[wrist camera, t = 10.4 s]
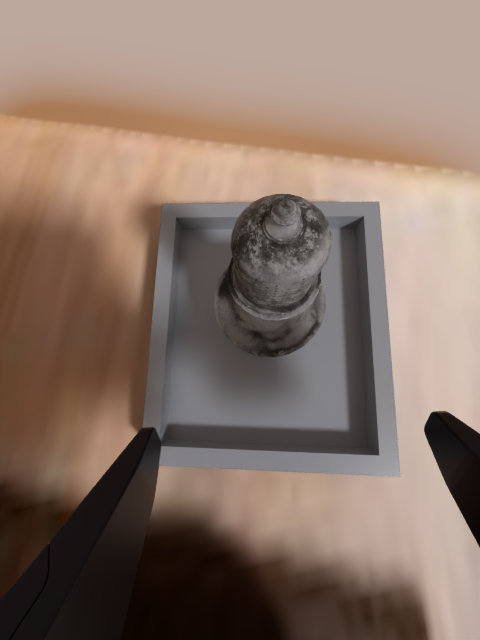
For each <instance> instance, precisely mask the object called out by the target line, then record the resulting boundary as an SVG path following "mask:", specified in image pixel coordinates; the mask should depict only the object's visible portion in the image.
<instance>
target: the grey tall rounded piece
mask: <svg viewBox="0 0 480 640" xmlns="http://www.w3.org/2000/svg"><path fill="white" fill-rule="evenodd" d="M330 250H331V229H330V226H329V223H328V220H327V219H326V217H325V216H324V214H323V213H322V211H321V210H320V209H319V208H317V207H316V206H315V205H314V204H313V203H311V202H309V201H307V200H305V199H304V198H302V197H299V196H295V195H290V194H275V195H271V196H266V197H263V198H261V199H259V200H257V201H255V202H253V203H251V204H250V205H249V206H248V207H247V208H245V209H244V210H243V212H242V213H241V214H240V216H239V217H238V219H237V220H236V223H235V226H234V229H233V231H232V235H231V251H232V256H233V257H232V258H231V261H230V264H229V266H228V267H227V268H226V269H225V271H224V272H223V274H222V275H221V277H220V278H219V280H218V283H217V286H216V289H215V292H214V305H213V307H214V311H215V316H216V321H217V322H218V324H219V326H220V328H221V330H222V332H223V334H224V335H225V336H226V337H227V338H228V339H229V340H230V341H231V343H232V344H234V345H235V346H237V347H238V348H240V349H241V350H243V351H245V352H247V353H250V354H253V355H256V356H260V357H278V356H283V355H287V354H290V353H292V352H294V351H296V350H298V349H300V348H302V347H303V346H305V345H306V344H307V343H308V342H309V341H310V340H311V339H312V338H313V337H314V336H315V334H316V332H317V331H318V329H319V327H320V326H321V324H322V321H323V317H324V313H325V293H324V289H323V286H322V283H321V270H322V268H323V267H324V265H325V263H326V262H327V260H328V257H329V253H330Z"/></svg>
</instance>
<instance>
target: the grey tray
mask: <svg viewBox="0 0 480 640" xmlns="http://www.w3.org/2000/svg"><path fill="white" fill-rule="evenodd" d="M311 203H313V204H314V205H315V206H316V207H317V208H319V209H320V210H321V211H322V213H323V214H324V216H325V217H326V219H327V220H328V223H329V226H330V229H331V250H330V253H329V257H328V260H327V262H326V263H325V265H324V267H323V268H322V270H321V283H322V286H323V289H324V293H325V313H324V317H323V321H322V324H321V326H320V327H319V329H318V331H317V332H316V334H315V336H314V337H313V338H312V339H311V340H310V341H309V342H308V343H307V344H306V345H305V346H303V347H302V348H300V349H298V350H296V351H294V352H292V353H290V354H287V355H283V356H278V357H260V356H256V355H253V354H250V353H247V352H245V351H243V350H241V349H240V348H238V347H237V346H235V345H234V344H232V343H231V341H230V340H229V339H228V338H227V337H226V336H225V335H224V334H223V332H222V330H221V328H220V326H219V324H218V322H217V321H216V316H215V311H214V307H213V305H214V292H215V289H216V286H217V283H218V280H219V278H220V277H221V275H222V274H223V272H224V271H225V269H226V268H227V267H228V266H229V264H230V261H231V258H232V257H233V256H232V251H231V235H232V231H233V229H234V226H235V223H236V220H237V219H238V217H239V216H240V214H241V213H242V212H243V210H244V209H245V208H247V207H248V206H249V205H250V204H251V203H192V204H162V211H161V223H160V234H159V246H158V257H157V269H156V280H155V292H154V303H153V314H152V326H151V337H150V349H149V360H148V372H147V383H146V395H145V406H144V418H143V428H144V427H154V428H156V430H157V433H158V435H159V438H160V440H161V454H160V461H159V466H177V467H199V468H220V469H241V470H262V471H283V472H305V473H326V474H347V475H368V476H389V477H400V465H399V452H398V439H397V426H396V413H395V400H394V387H393V374H392V361H391V348H390V335H389V322H388V309H387V296H386V283H385V270H384V257H383V244H382V232H381V219H380V206H379V202H311Z"/></svg>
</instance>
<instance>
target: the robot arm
mask: <svg viewBox="0 0 480 640" xmlns="http://www.w3.org/2000/svg"><path fill="white" fill-rule="evenodd" d="M424 432H425V435H426V438H427V440H428V442H429V445H430V447H431V450H432V452H433V454H434V457H435V459H436V462H437V464H438V466H439V469H440V471H441V474H442V476H443V478H444V480H445V483H446V485H447V487H448V489H449V491H450V492H451V494H452V496H453V498H454V500H455V502H456V504H457V506H458V507H459V509H460V511H461V513H462V515H463V517H464V519H465V521H466V522H467V524H468V526H469V528H470V530H471V532H472V534H473V536H474V537H475V539H476V541H477V543H478V545H479V547H480V434H479V433H478V432H476V431H475V430H474V429H472V428H471V427H469V426H468V425H466V424H465V423H463V422H462V421H461V420H459V419H458V418H456V417H455V416H453V415H452V414H450V413H449V412H446V411H435V412H432V413H431V414H430V416H429V418H428V420H427V422H426V424H425V427H424ZM160 454H161V440H160V438H159V435H158V433H157V430H156V428H154V427H144V428H142V429H141V430H140V431H139V432H138V433H137V435H136V436H135V437H134V438H133V439H132V441H131V442H130V443H129V444H128V446H127V447H126V448H125V449H124V451H123V452H122V453H121V454H120V455H119V457H118V458H117V459H116V460H115V462H114V463H113V464H112V465H111V466H110V468H109V469H108V470H107V471H106V473H105V474H104V475H103V476H102V477H101V479H100V480H99V481H98V482H97V484H96V485H95V486H94V487H93V489H92V490H91V491H90V492H89V493H88V495H87V496H86V497H85V498H84V500H83V501H82V502H81V503H80V504H79V506H78V507H77V508H76V509H75V511H74V512H73V513H72V514H71V515H70V517H69V518H68V519H67V520H66V522H65V523H64V524H63V525H62V527H61V528H60V529H59V530H58V531H57V533H56V534H55V535H54V536H53V538H52V539H51V540H50V543H48V544H47V545H46V546H45V547H44V548H43V550H42V551H41V552H40V553H39V555H38V556H37V557H36V558H35V559H34V561H33V562H32V563H31V564H30V565H29V567H28V568H27V569H26V570H25V571H24V572H23V574H22V575H21V576H20V577H19V578H18V580H17V581H16V582H15V583H14V584H13V585H12V586H11V588H10V589H9V590H8V591H7V592H6V593H5V594H4V595H3V597H2V598H1V599H0V640H121V637H122V633H123V629H124V625H125V621H126V616H127V612H128V608H129V604H130V599H131V595H132V591H133V587H134V582H135V578H136V574H137V570H138V566H139V561H140V557H141V553H142V549H143V544H144V540H145V536H146V532H147V528H148V523H149V519H150V515H151V511H152V506H153V502H154V497H155V491H156V484H157V476H158V469H159V461H160Z"/></svg>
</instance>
